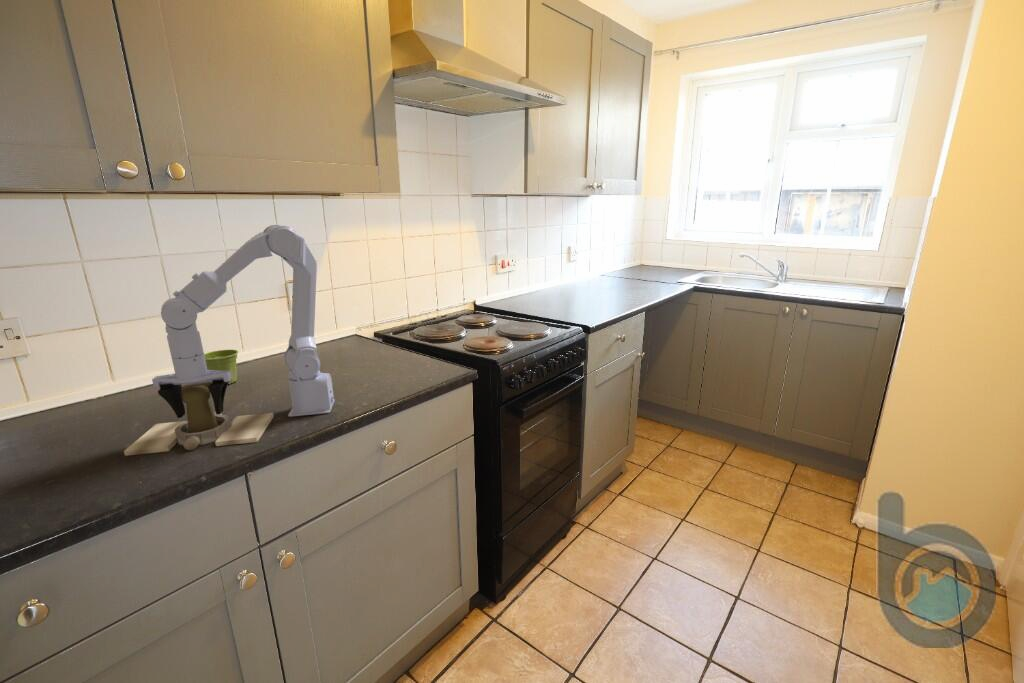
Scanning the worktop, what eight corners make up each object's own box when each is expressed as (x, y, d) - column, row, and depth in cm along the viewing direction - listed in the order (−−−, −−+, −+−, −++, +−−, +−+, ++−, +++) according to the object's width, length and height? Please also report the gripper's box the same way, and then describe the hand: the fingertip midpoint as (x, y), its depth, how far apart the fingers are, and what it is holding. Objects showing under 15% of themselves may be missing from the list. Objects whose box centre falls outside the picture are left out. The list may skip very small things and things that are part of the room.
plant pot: (204, 382, 138) (197, 353, 136) (240, 374, 144) (235, 347, 141) (207, 391, 131) (201, 361, 129) (246, 383, 136) (240, 354, 134)
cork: (190, 442, 102) (179, 395, 99) (187, 432, 107) (176, 386, 104) (222, 434, 106) (212, 387, 103) (218, 425, 110) (208, 380, 107)
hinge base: (274, 415, 115) (273, 405, 114) (256, 443, 101) (254, 432, 101) (158, 426, 110) (156, 416, 110) (122, 457, 97) (119, 446, 96)
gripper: (232, 346, 106) (243, 403, 110) (159, 352, 103) (172, 410, 107) (219, 356, 99) (231, 416, 103) (141, 362, 96) (156, 423, 100)
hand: (200, 414), depth 104 cm, fingers open, 7 cm apart
